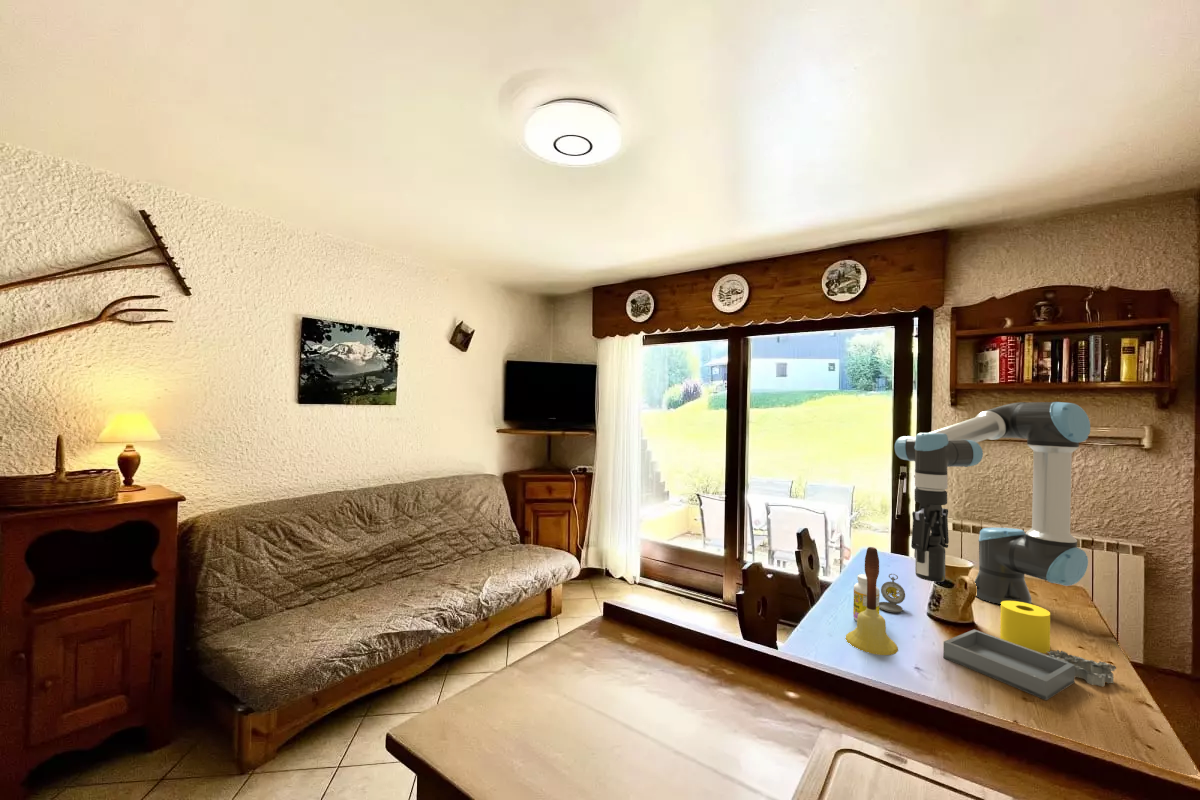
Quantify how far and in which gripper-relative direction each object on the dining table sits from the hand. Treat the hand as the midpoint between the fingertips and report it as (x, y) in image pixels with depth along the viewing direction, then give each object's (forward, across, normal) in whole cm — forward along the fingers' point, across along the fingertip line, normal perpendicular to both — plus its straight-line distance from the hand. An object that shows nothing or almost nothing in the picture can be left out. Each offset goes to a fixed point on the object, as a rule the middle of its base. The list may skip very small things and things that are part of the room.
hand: (930, 572), depth 136 cm
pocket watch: (+17, -8, -15) cm, 24 cm away
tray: (+17, +4, +19) cm, 26 cm away
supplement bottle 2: (+2, 0, 0) cm, 2 cm away
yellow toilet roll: (+17, -17, +15) cm, 28 cm away
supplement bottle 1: (+17, +8, -13) cm, 23 cm away
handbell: (+17, +20, -4) cm, 27 cm away
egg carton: (+17, -10, +28) cm, 34 cm away
